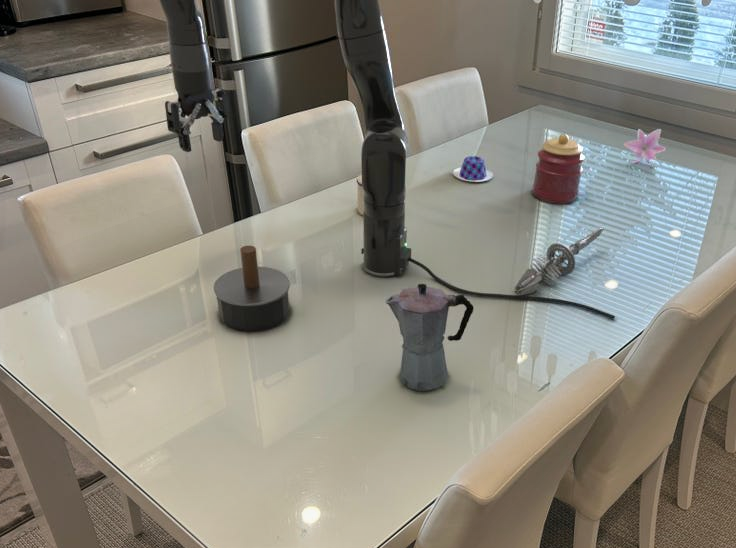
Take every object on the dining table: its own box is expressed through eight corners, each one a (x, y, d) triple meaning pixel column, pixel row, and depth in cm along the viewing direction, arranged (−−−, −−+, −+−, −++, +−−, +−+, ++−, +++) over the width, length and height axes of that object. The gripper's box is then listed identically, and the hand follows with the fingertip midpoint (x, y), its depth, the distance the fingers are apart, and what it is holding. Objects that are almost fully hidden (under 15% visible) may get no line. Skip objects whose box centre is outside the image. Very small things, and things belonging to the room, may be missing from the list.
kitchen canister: (584, 194, 211) (595, 133, 201) (566, 208, 202) (576, 146, 192) (543, 182, 216) (552, 123, 206) (524, 196, 207) (532, 135, 197)
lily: (615, 159, 238) (622, 139, 229) (637, 139, 241) (645, 118, 233) (645, 180, 234) (653, 160, 226) (666, 159, 238) (675, 139, 229)
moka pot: (383, 362, 140) (384, 270, 128) (463, 361, 141) (471, 271, 130) (385, 393, 132) (386, 299, 120) (469, 392, 134) (478, 299, 122)
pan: (299, 301, 156) (297, 275, 152) (273, 337, 145) (270, 309, 141) (238, 291, 158) (235, 265, 154) (208, 325, 147) (203, 298, 143)
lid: (300, 277, 153) (298, 237, 147) (272, 314, 141) (268, 272, 136) (234, 266, 155) (229, 227, 150) (200, 301, 143) (194, 260, 138)
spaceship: (622, 228, 175) (597, 207, 177) (535, 292, 156) (508, 268, 158) (607, 250, 181) (583, 229, 183) (521, 314, 162) (496, 290, 164)
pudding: (493, 185, 213) (495, 167, 210) (452, 182, 213) (454, 165, 210) (491, 169, 223) (493, 152, 219) (452, 167, 222) (453, 150, 219)
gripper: (175, 76, 138) (188, 159, 148) (231, 62, 148) (240, 141, 157) (149, 69, 141) (163, 150, 151) (206, 55, 151) (216, 133, 161)
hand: (202, 145), depth 154 cm, fingers open, 8 cm apart
